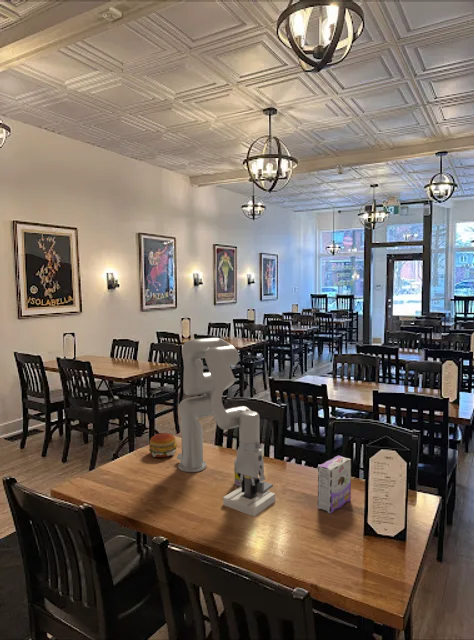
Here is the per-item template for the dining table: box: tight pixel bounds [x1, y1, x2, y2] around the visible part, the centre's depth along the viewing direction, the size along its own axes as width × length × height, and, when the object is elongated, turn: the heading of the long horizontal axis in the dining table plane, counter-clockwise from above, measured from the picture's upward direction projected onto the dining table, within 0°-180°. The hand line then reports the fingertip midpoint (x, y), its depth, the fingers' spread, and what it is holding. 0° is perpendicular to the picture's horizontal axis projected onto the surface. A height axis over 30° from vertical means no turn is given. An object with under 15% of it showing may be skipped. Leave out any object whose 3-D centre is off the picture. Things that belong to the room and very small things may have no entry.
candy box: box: [317, 455, 352, 514], centre depth 164 cm, size 14×6×16 cm, turn 134°
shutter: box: [257, 480, 274, 493], centre depth 171 cm, size 7×7×4 cm
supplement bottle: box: [233, 458, 241, 487], centre depth 182 cm, size 7×7×13 cm
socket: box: [222, 486, 276, 517], centre depth 166 cm, size 14×14×3 cm
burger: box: [148, 432, 178, 458], centre depth 214 cm, size 13×14×10 cm
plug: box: [244, 475, 254, 499], centre depth 165 cm, size 4×4×10 cm
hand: (249, 492), depth 165 cm, fingers closed on plug, 3 cm apart
